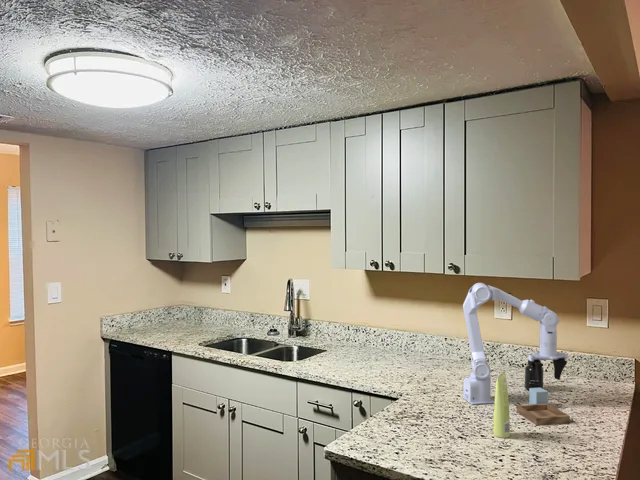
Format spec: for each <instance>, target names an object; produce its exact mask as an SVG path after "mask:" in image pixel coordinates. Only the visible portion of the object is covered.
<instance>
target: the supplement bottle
mask: <svg viewBox="0 0 640 480" xmlns="http://www.w3.org/2000/svg"><path fill="white" fill-rule="evenodd" d="M540 363H542V360H540ZM524 388H525V390H526V391H529V388H542V389H544V369H543V367H542V370H541V381H538V380H536V378H535V374H534V370H533V368H532V366H531V364H530V362H529V360H528V359H527V365H526V366H525V368H524Z"/></svg>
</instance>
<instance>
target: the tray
mask: <svg viewBox="0 0 640 480" xmlns="http://www.w3.org/2000/svg"><path fill="white" fill-rule="evenodd" d="M516 412H517V414H519V415H520V416H522V417H524V418H525V419H526V420H527V421H529V422H531V423H532V424H533V425H535V426H544V425H545V426H547V425H558V424H559V425H560V424H562V425H563V424H570V422H571V419H570V418H571V417H570V415H569V414H567V413H565V412H564V411H562V410H560V409H558V408H557V407H555V406H553V405H552V404H549V402H548V403H546V404H531V405H530V404H520V405H519V404H517V405H516Z"/></svg>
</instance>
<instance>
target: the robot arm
mask: <svg viewBox="0 0 640 480" xmlns="http://www.w3.org/2000/svg"><path fill="white" fill-rule="evenodd" d="M490 300H491V301H498V300H499V301H501V302H504V303H506V304H509V305H510V306H513V307H515V308H517V309H518V310H519V314H521V315H523V316H525V317H527V318H529V319H531V320H534V321H536V322H539V351H538V353H533V354H532V353H531V354H528V357H527V361H528V360H529V362H530V364H531V366H532V368H533V370H534V374H535V378H536V380H538V381H541V370H542V368H543V365H544V363H543V362H541V363H540V360H541V361H552V364H553V376H554V379H556V380H559V381H560V380H561V376H562V373H563V371H564V368H565V367H566V365H567V364H568V362H567V361H568V354H567V353H564V352H558V351H557V347H558V346H557V340H558V336H557V335H558V330H557V326H558V325H559V322H560V319H559V316H558V314H557V313H556V312H554V311H552V310H551V309H549V308H548V307H547V306H546V305H544V306H542V305H540V304H538V303H535V302H536V301H535V300H533V299H530V300H529V299H524V300H521V299H519V298H517V297H515V296H513V295H512V294H509V293H508V292H505V291H504V290H502V289H500V288H498V287H495V286H492V285H489V284H488V285H486V284H485V283H483V282H477V283H475V284H473V285H472V286H471V287H470V288H469V290H468V293H467V294H466V297H465V299H464V301H463V304H462V310H463V316H464V321H465V325H466V326H465V327H466V331H467V337H468V342H469V347H470V352H471V360H470V367H471V369H472V371H471V373H470V375H469V376H468V377H465V378H463V386H462V387H463V389H462V391H463V392H462V393H463V395H462V398H463V399H464V400H465V401H467V402H468V404H470V405H482V404H484V405H485V404H486V405H487V404H494V401H495V399H493V398H491V394H492V393H491V391H492V390H491V386H492V385H491V383H492V382H491V380H492V379H491V373H492V369H491V367H490V365H489V363H488V361H487V359H486V358H487V357H486V354H485V350H484V349H485V348H484V345H483V339H482V335H481V329H480V325H479V318H478V313H477V311H478V309H479V308H480V307H481V306H482V305H483V304H485V303H487V302H488V301H490Z"/></svg>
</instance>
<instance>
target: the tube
mask: <svg viewBox="0 0 640 480" xmlns="http://www.w3.org/2000/svg"><path fill="white" fill-rule="evenodd" d="M509 402H510V401H509V391H508V381H507V375H506V371H505V370H503V371H502V372H501V373H500V374H498V375H497V379H496V382H495V392H494V403H493V435H494V436H495V437H497V438H502V439H505V438H509V437H511V423H510V422H511V420H510V418H511V417H510V403H509Z"/></svg>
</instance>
